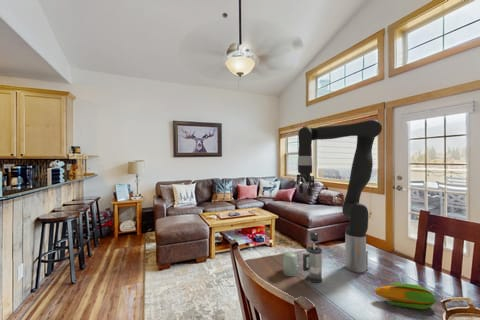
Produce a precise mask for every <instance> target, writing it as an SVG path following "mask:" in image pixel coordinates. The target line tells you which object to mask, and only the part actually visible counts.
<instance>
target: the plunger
mask: <svg viewBox="0 0 480 320" xmlns="http://www.w3.org/2000/svg"><path fill="white" fill-rule="evenodd" d="M309 240H310V241H311V242H312V246H313V250H315V246H316V242H319V232H316V231H312V232H309Z"/></svg>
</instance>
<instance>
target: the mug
mask: <svg viewBox="0 0 480 320" xmlns="http://www.w3.org/2000/svg"><path fill="white" fill-rule="evenodd" d="M283 274H284V275H285V276H286V277H291V276H293V277H296V276H297V275H298V254H297V253H296V252H293V251H285V252H284V253H283Z"/></svg>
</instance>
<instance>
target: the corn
mask: <svg viewBox="0 0 480 320" xmlns="http://www.w3.org/2000/svg"><path fill="white" fill-rule="evenodd" d="M374 292H375V294H376V295H377V296H379V297H381V298H385V299H386V300H387V301H386V303H387V304H390V305H394V306H396V307H397V306H398V307H403V308H410V309H418V310H426V309H430V308H431V307H433V306H434V305H435V302H436V300H437V298H436V296H435V295H434V294H433V293H432V292H431V291H430V290H429V289H427V288H425V287H423V286H421V285H418V284H411V283H404V282H403V283H402V282H395V283H394V282H392V283H390V285H383V286H379V287H376V289H374ZM389 300H390V301H389Z"/></svg>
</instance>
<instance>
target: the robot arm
mask: <svg viewBox="0 0 480 320" xmlns="http://www.w3.org/2000/svg"><path fill="white" fill-rule="evenodd" d="M382 130H383V127H382V123H381V122H379V120H376V119H367V120H364V121H359V122H354V123H347V124H339V125H338V124H336V125H324V126H322V125H321V126H317V127H313V128H310V127H307V126H303V127H301V128H300V129H299V130H298V132H297V136H298V151H297V154H298V156H297V173H298V174H296V185H297V186H298V193H299V194H303V193H304V184H305V185H306V188H307V189H306V190H307V191H306V194H307V195H306V196H308V197H309V196H312V195H313V194H312V193H313V191H312V190H313V189H314V188H315V176H314V175H311V174H312V173H313V157H312V156H313V153H312V151H313V149H312V143H313V141H317V140H320V141H321V140H336V139H341V138H346V137H356V147H355V152H354V154H353V155H354V156H353V159H352V164H351V169H350V175H349V181H348V186H347V191H346V194H345V197H344V201H343V203H342V209H341V210H342V213H343V216H344V217H345V218H347V219H349V226H346V227H345V230H344V233H345V238H344V239H345V241H344V242H345V249H344V250H345V254H344V255H345V256H344V257H345V260H344V261H345V263H344V264H345V265H344V266H345V268H346V269H347V270H349V271H351V272H354V273H360V274H361V273H365V272H366V271H368V268H369V267H368V265H369V264H368V263H369V261H368V260H369V256H368V254H369V253H368V250H367V232H368V229H369V210H368V207H367V206H366V205H364V204H362V203H360V199H361V195H362V192H363V190H364V189H365V188H366V186H367V185H368V183H369V182H370V180H371V177H372V172H373V163H374V162H373V152H372V151H373V145H374V141H375V138H377V136H379V135H380V134H381V132H382Z"/></svg>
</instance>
